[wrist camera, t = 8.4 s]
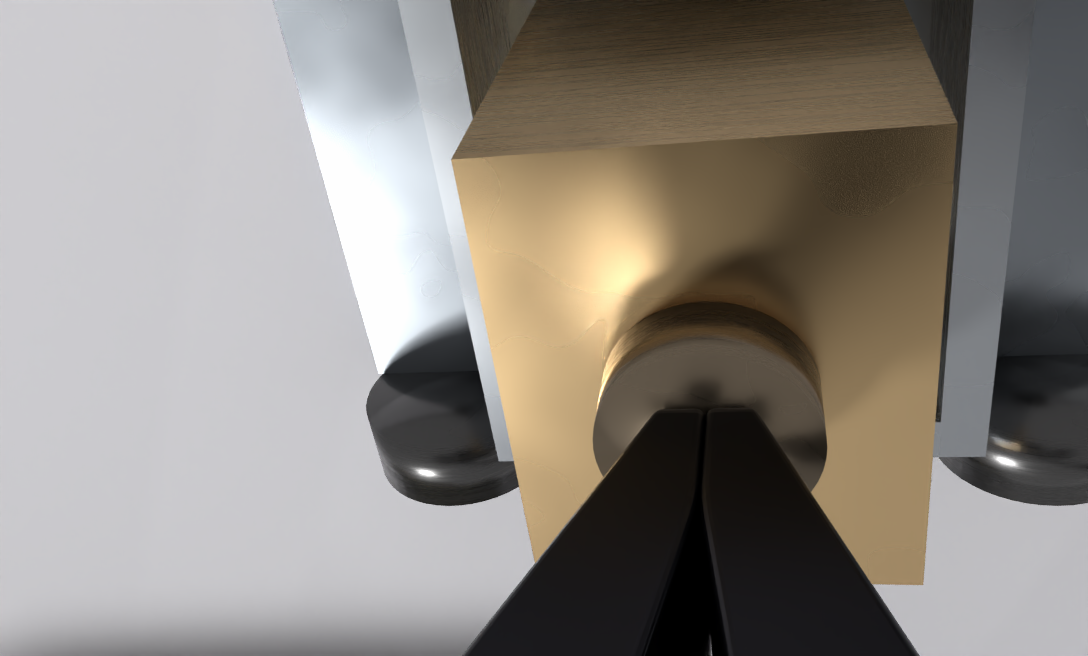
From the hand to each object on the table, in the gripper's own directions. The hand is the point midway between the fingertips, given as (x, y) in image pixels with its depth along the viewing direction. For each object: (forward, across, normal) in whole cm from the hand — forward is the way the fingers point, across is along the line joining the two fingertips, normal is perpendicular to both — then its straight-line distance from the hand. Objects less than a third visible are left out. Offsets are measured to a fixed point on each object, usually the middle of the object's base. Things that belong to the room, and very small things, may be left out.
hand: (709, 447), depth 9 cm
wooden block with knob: (+7, 0, 0) cm, 7 cm away
